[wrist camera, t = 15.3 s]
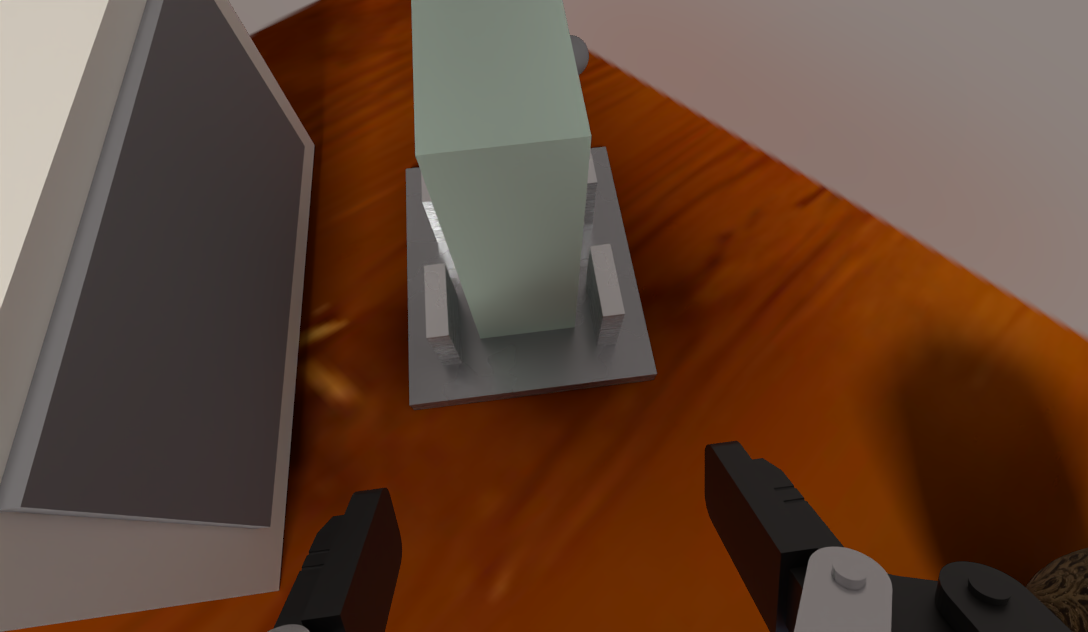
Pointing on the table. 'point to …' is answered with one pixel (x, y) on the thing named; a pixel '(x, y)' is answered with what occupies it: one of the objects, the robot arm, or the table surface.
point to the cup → (1065, 589)
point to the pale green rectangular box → (504, 154)
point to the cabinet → (144, 307)
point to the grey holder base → (530, 358)
